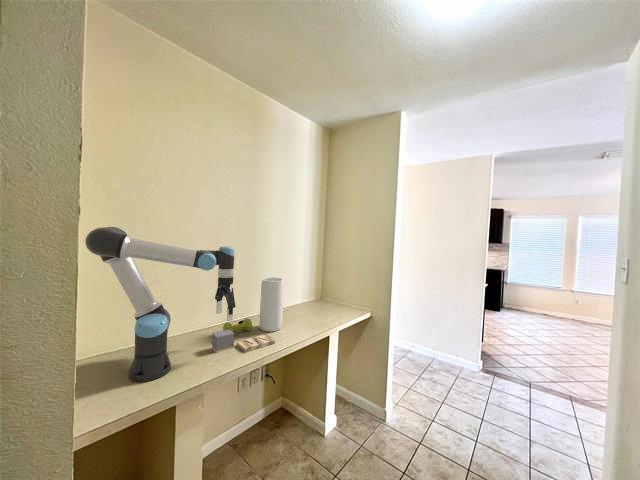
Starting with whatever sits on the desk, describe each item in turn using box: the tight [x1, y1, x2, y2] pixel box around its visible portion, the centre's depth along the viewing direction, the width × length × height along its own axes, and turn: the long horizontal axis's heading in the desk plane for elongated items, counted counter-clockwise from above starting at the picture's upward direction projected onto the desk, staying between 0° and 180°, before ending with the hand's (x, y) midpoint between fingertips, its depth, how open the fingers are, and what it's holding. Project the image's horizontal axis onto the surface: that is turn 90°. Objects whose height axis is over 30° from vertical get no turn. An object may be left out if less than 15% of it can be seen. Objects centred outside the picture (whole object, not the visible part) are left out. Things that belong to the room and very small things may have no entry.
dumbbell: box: [222, 317, 253, 333], centre depth 159 cm, size 16×8×7 cm, turn 134°
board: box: [236, 333, 276, 353], centre depth 144 cm, size 18×10×2 cm, turn 132°
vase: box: [258, 276, 285, 333], centre depth 168 cm, size 14×14×32 cm
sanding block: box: [211, 330, 235, 354], centre depth 137 cm, size 9×6×8 cm, turn 132°
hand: (224, 316), depth 137 cm, fingers open, 13 cm apart
